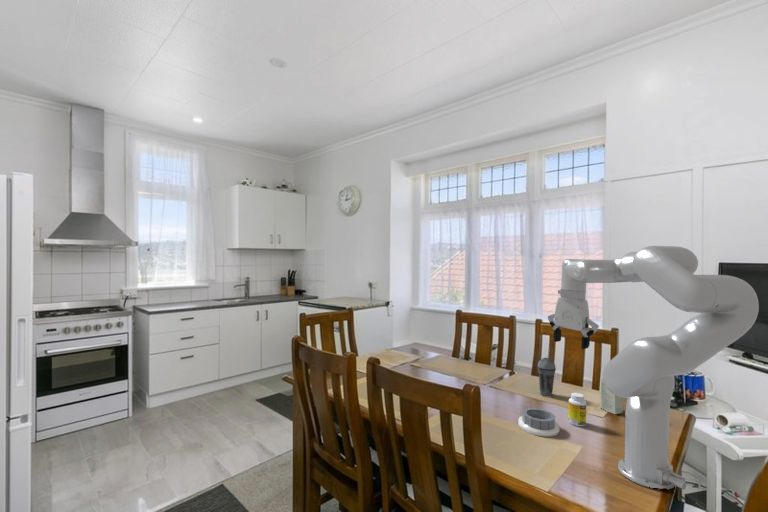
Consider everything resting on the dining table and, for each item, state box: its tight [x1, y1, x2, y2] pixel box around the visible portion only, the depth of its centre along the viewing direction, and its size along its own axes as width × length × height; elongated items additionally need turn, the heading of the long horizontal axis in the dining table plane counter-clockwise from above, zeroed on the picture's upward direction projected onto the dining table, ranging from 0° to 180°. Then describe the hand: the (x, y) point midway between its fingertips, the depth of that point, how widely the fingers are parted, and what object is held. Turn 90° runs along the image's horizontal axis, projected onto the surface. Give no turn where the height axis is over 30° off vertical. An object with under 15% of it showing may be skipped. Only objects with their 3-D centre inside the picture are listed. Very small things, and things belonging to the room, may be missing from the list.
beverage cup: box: [536, 347, 557, 397], centre depth 155 cm, size 7×7×20 cm
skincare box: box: [599, 376, 624, 415], centre depth 140 cm, size 6×4×12 cm
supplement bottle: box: [567, 392, 587, 427], centre depth 129 cm, size 6×6×10 cm
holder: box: [517, 407, 560, 438], centre depth 125 cm, size 13×13×4 cm
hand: (570, 344), depth 125 cm, fingers open, 9 cm apart
